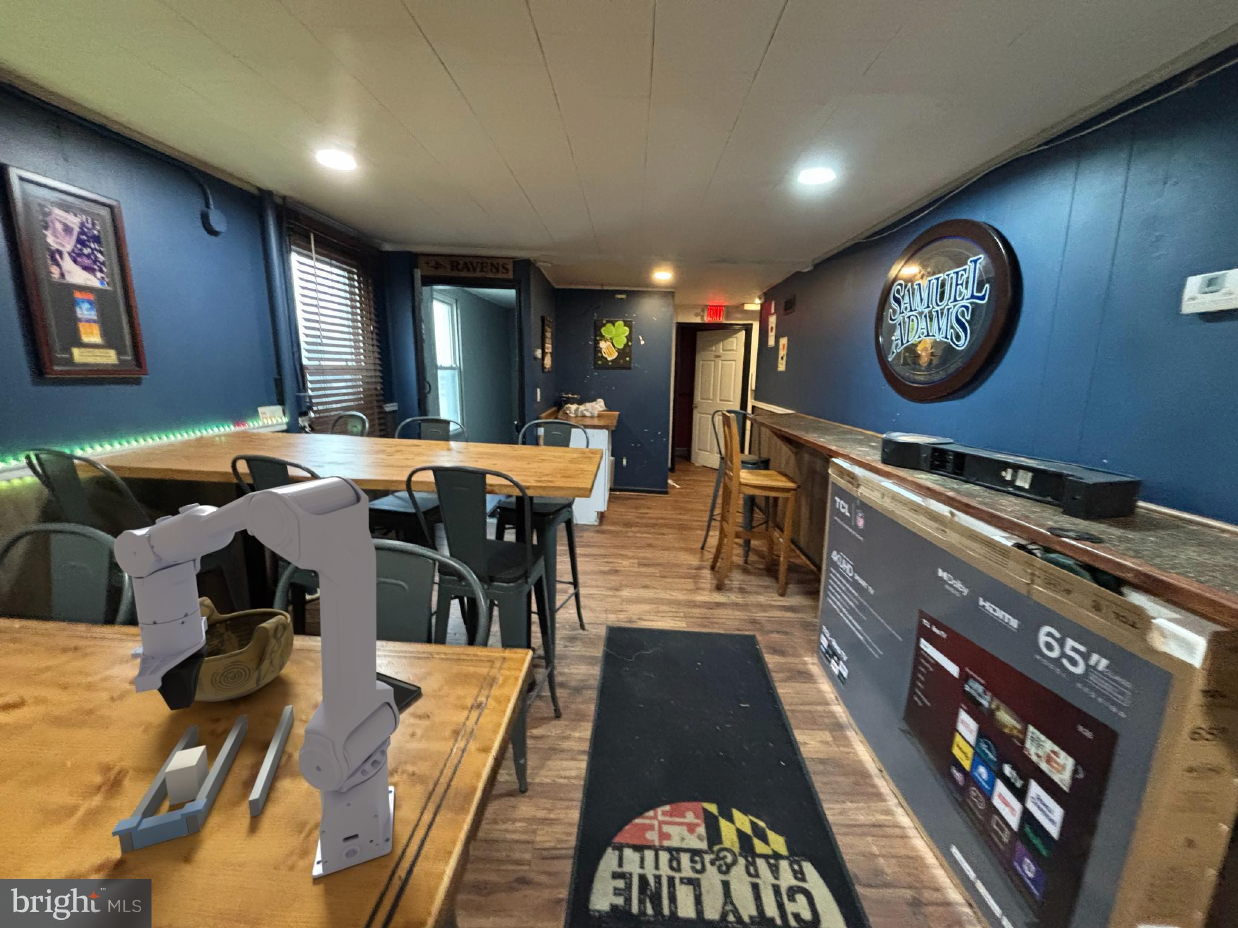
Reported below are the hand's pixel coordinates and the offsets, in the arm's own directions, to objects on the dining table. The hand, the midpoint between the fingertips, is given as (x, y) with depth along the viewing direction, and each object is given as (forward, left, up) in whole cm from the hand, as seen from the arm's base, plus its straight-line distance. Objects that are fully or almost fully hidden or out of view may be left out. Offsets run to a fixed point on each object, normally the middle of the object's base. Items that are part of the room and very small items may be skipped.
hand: (182, 705), depth 61 cm
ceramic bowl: (+19, 0, -11) cm, 22 cm away
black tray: (+9, -22, -11) cm, 26 cm away
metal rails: (-2, -4, -10) cm, 11 cm away
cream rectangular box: (-4, -1, -10) cm, 11 cm away
